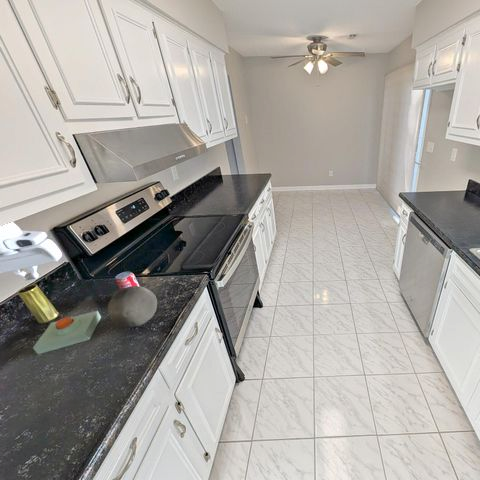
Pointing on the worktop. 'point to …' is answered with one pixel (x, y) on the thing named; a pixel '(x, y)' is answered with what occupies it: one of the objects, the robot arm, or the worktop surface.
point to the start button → (63, 322)
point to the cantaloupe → (132, 306)
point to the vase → (38, 303)
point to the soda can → (126, 280)
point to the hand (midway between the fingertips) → (32, 278)
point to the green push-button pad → (68, 333)
